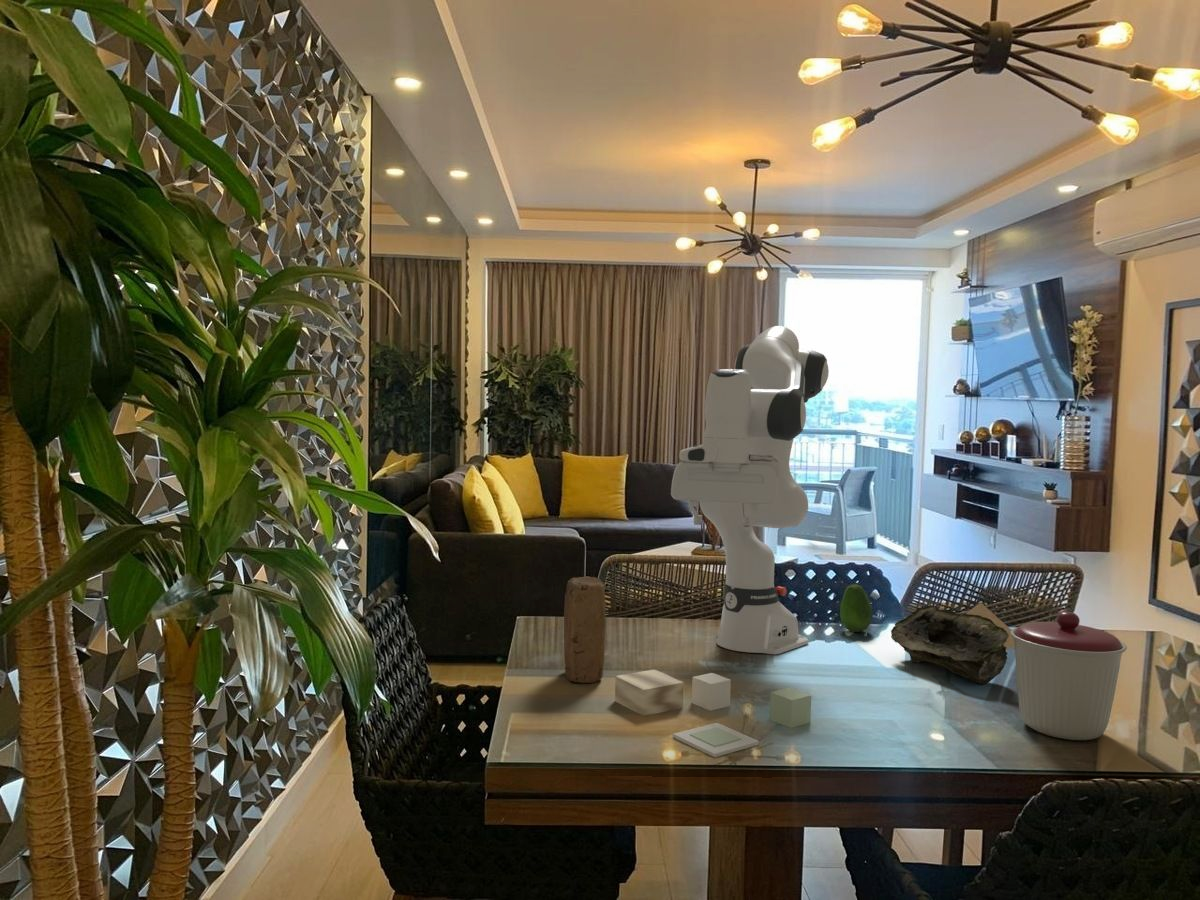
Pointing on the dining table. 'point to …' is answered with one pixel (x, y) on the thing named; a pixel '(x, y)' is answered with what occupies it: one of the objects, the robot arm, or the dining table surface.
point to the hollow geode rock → (954, 642)
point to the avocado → (855, 609)
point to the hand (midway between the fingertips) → (722, 525)
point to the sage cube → (790, 707)
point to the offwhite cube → (711, 691)
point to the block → (584, 629)
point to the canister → (1066, 676)
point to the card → (715, 739)
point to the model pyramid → (986, 613)
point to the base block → (649, 692)
